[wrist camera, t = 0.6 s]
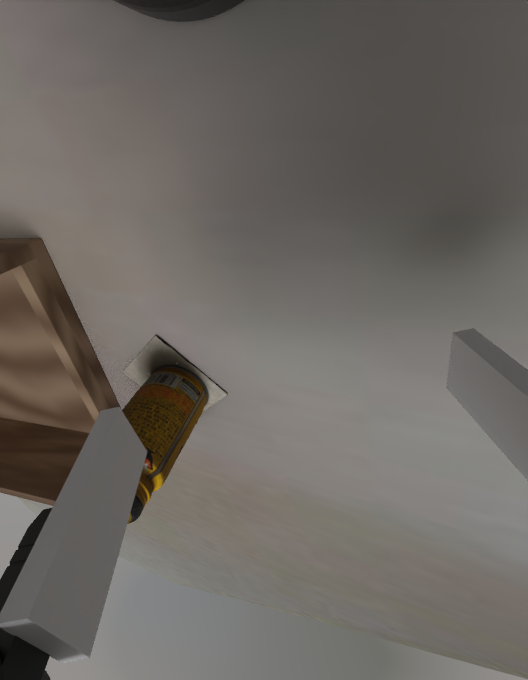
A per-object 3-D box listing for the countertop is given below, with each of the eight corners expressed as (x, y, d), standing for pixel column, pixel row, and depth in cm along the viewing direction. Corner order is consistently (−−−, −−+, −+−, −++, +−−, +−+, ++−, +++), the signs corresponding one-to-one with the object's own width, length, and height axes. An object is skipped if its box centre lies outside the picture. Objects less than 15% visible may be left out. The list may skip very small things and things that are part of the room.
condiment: (188, 421, 34) (121, 538, 25) (123, 371, 32) (23, 478, 23) (228, 393, 30) (166, 521, 21) (157, 333, 28) (52, 445, 19)
